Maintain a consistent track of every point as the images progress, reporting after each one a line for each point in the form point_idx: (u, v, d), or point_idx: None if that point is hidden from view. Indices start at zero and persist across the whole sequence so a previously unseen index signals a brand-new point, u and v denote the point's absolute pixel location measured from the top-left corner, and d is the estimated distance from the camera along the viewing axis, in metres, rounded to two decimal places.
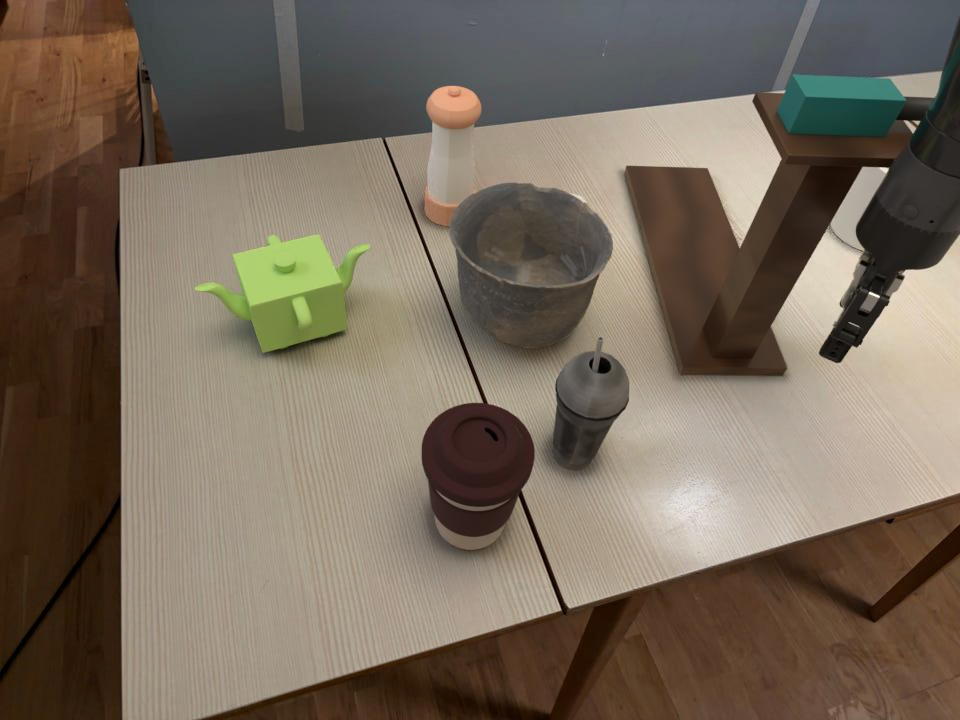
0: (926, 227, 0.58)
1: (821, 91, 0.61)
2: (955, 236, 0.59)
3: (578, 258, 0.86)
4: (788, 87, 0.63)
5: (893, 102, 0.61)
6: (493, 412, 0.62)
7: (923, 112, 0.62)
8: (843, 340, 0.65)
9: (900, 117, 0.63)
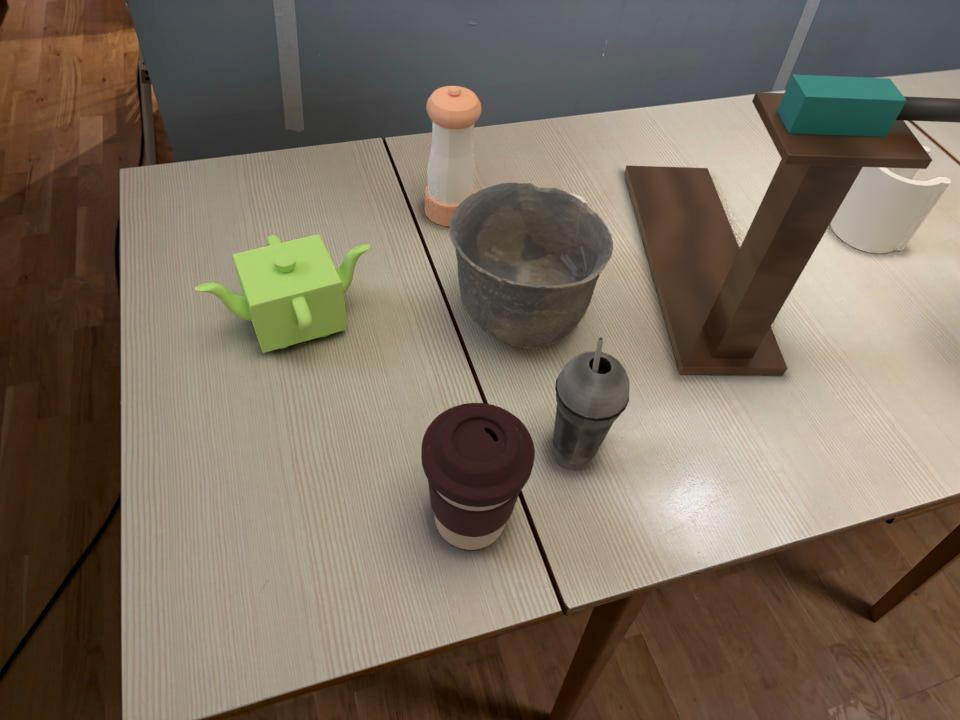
0: None
1: (821, 91, 0.61)
2: None
3: (578, 258, 0.86)
4: (788, 87, 0.63)
5: (893, 102, 0.61)
6: (493, 412, 0.62)
7: (923, 112, 0.62)
8: None
9: (900, 117, 0.63)
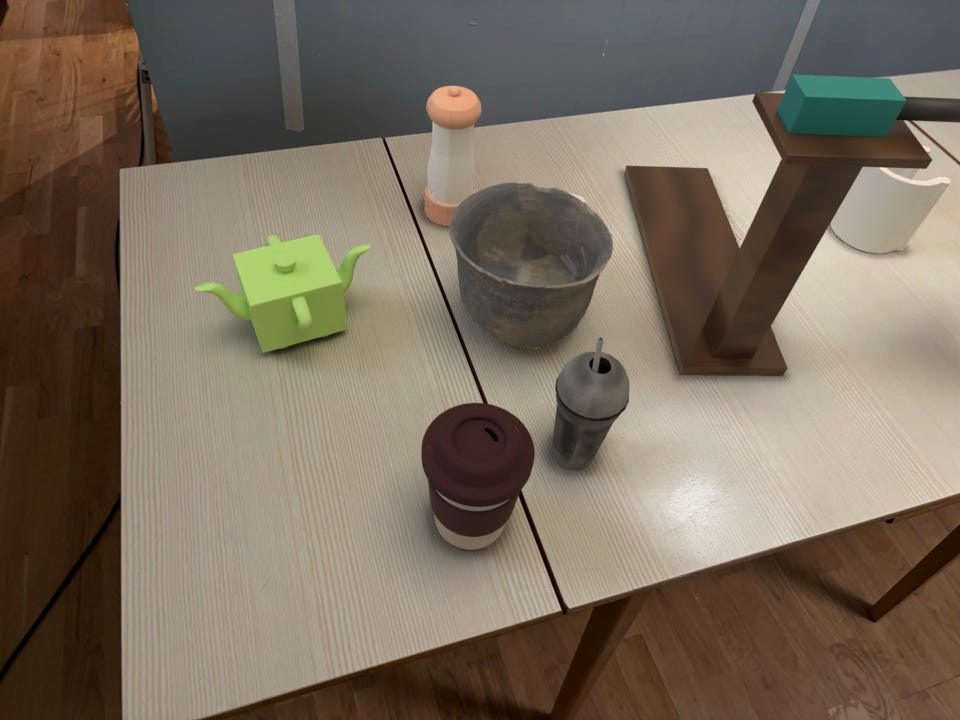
0: None
1: (821, 91, 0.61)
2: None
3: (578, 258, 0.86)
4: (788, 87, 0.63)
5: (893, 102, 0.61)
6: (493, 412, 0.62)
7: (923, 112, 0.62)
8: None
9: (900, 117, 0.63)
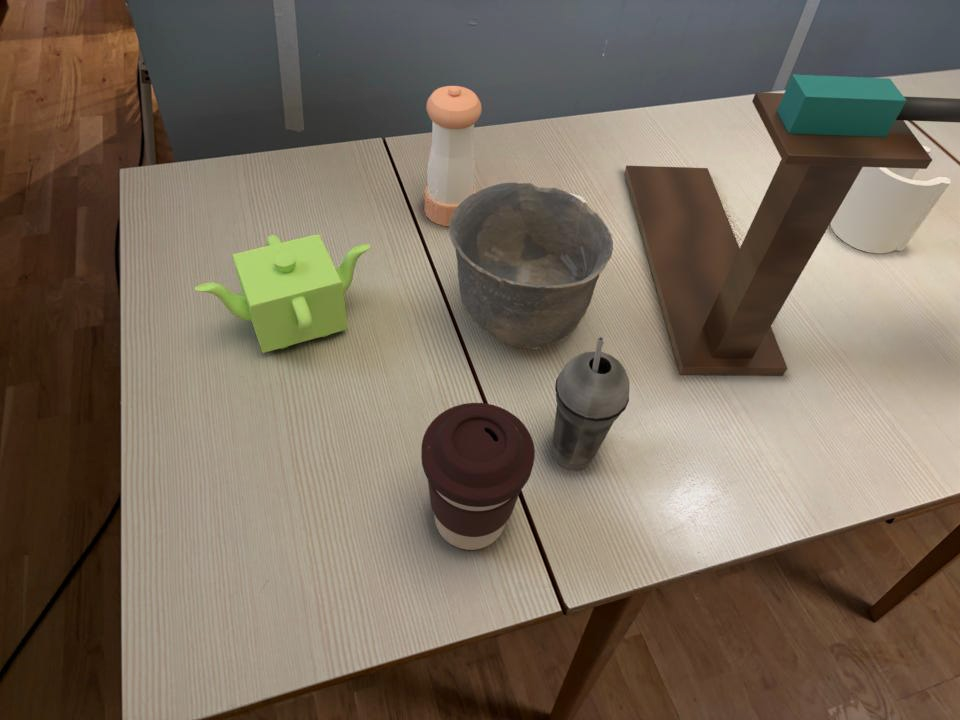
0: None
1: (821, 91, 0.61)
2: None
3: (578, 258, 0.86)
4: (788, 87, 0.63)
5: (893, 102, 0.61)
6: (493, 412, 0.62)
7: (923, 112, 0.62)
8: None
9: (900, 117, 0.63)
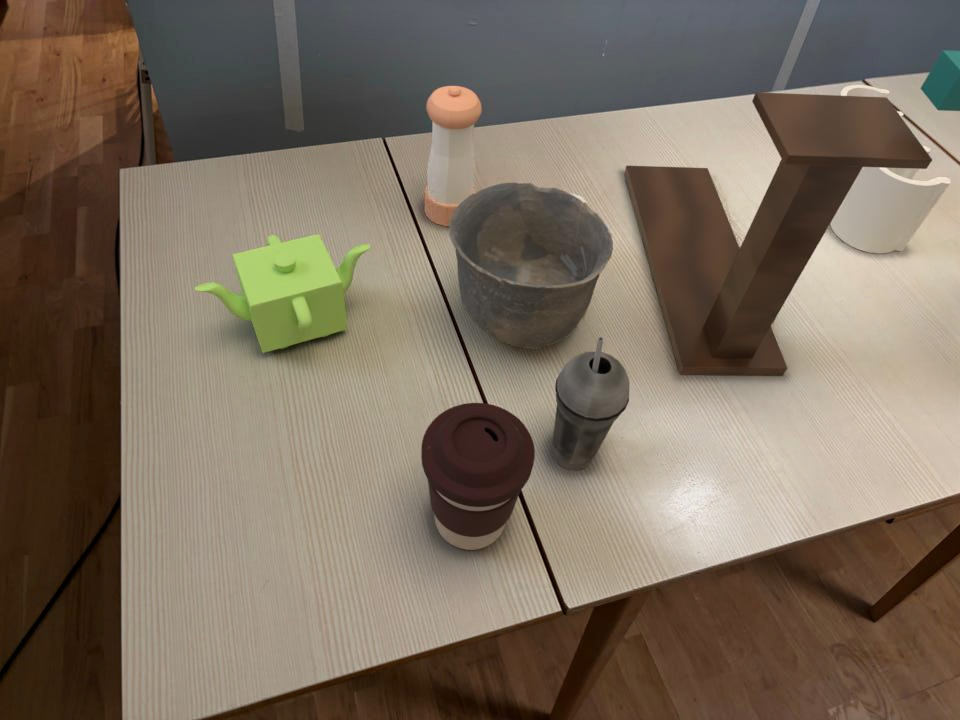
0: None
1: None
2: None
3: (578, 258, 0.86)
4: (937, 63, 0.62)
5: None
6: (493, 412, 0.62)
7: None
8: None
9: None
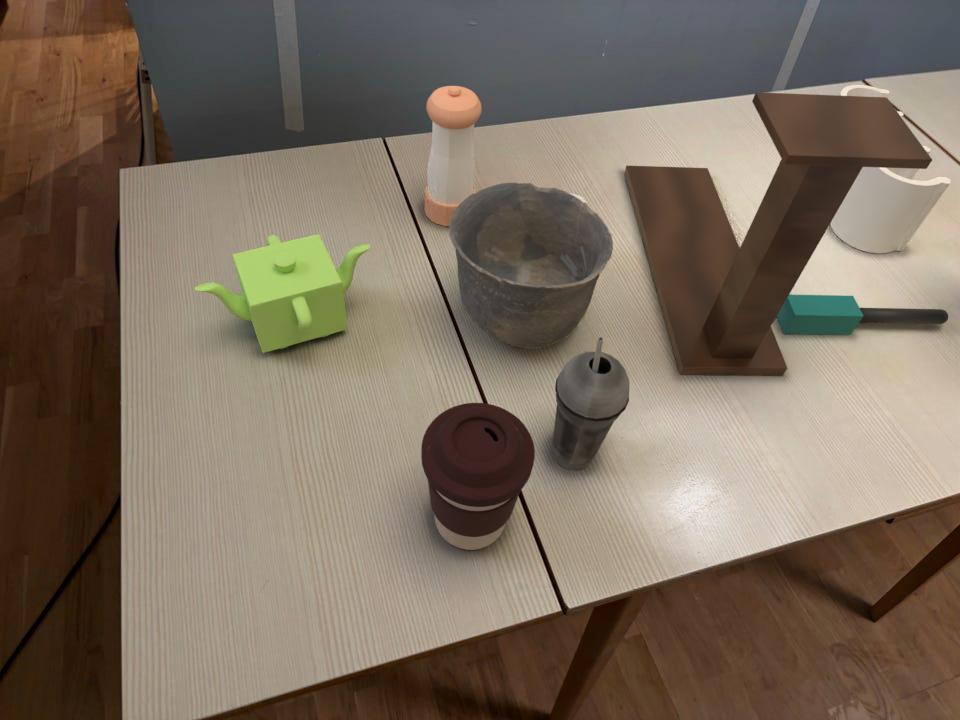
0: None
1: (805, 309, 0.89)
2: None
3: (578, 258, 0.86)
4: None
5: (854, 317, 0.89)
6: (493, 412, 0.62)
7: (875, 319, 0.91)
8: None
9: (860, 322, 0.92)
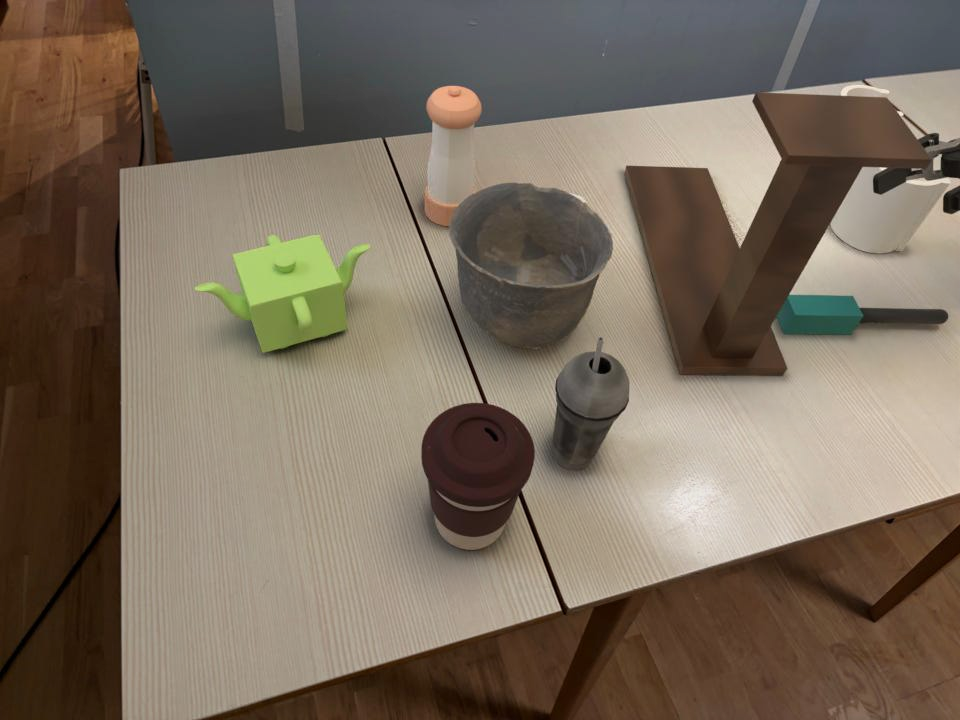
0: None
1: (805, 309, 0.89)
2: None
3: (578, 258, 0.86)
4: None
5: (854, 317, 0.89)
6: (493, 412, 0.62)
7: (875, 319, 0.91)
8: None
9: (860, 322, 0.92)
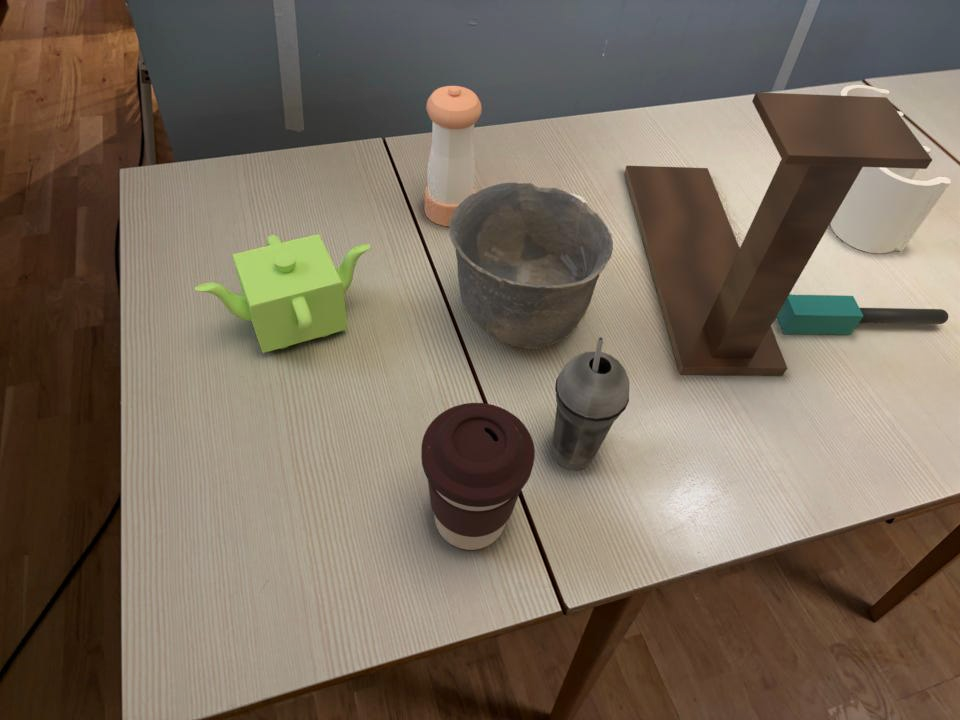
0: None
1: (805, 309, 0.89)
2: None
3: (578, 258, 0.86)
4: None
5: (854, 317, 0.89)
6: (493, 412, 0.62)
7: (875, 319, 0.91)
8: None
9: (860, 322, 0.92)
